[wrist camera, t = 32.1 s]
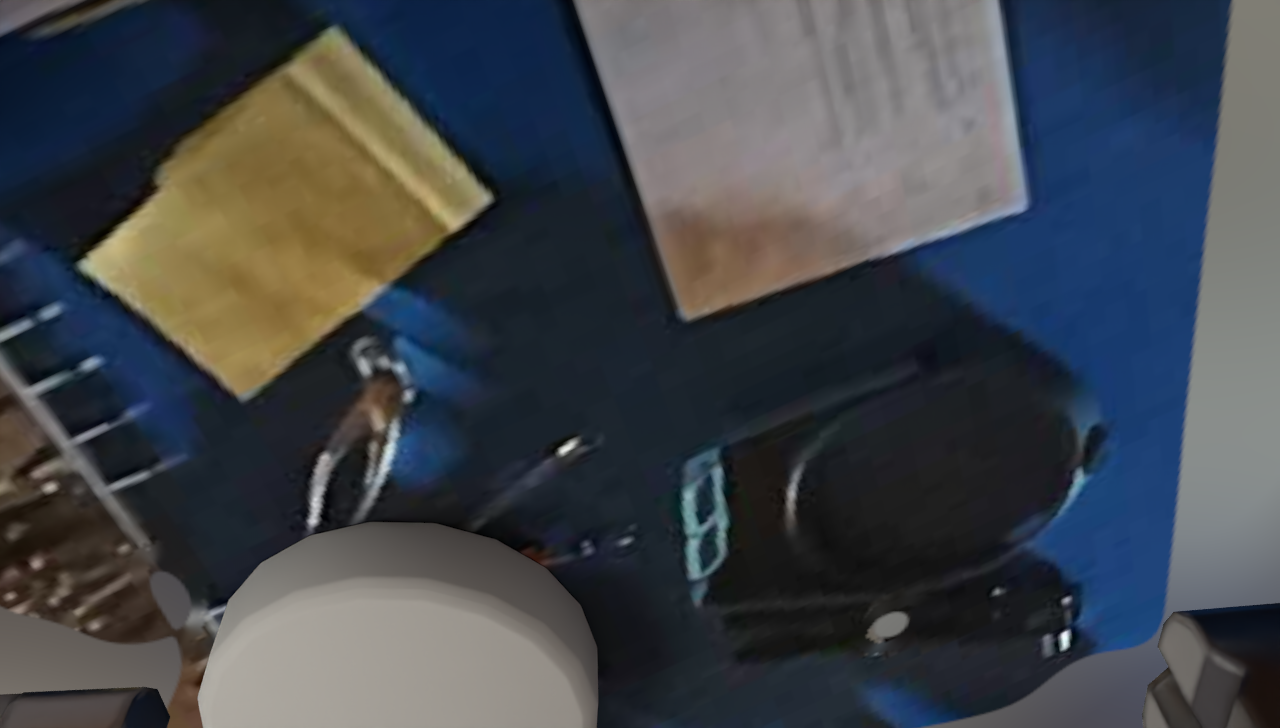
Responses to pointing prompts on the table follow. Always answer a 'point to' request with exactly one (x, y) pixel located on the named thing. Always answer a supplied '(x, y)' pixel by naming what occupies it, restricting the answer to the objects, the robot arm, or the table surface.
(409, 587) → the container
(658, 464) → the table surface
